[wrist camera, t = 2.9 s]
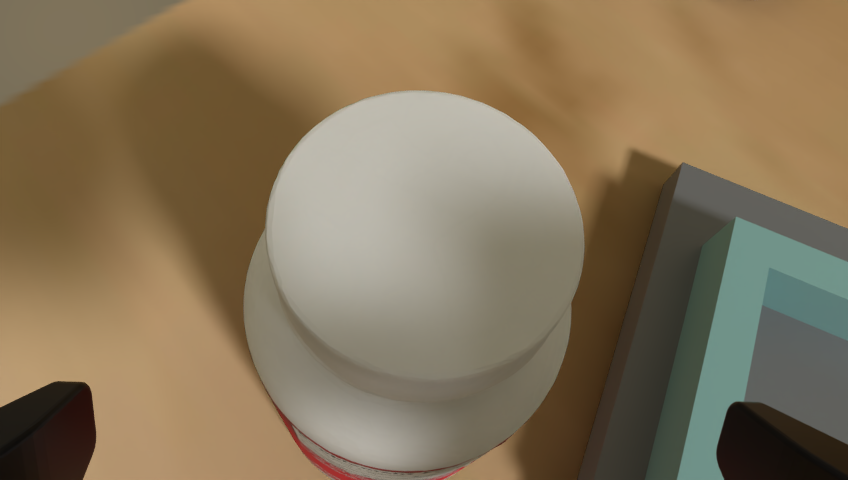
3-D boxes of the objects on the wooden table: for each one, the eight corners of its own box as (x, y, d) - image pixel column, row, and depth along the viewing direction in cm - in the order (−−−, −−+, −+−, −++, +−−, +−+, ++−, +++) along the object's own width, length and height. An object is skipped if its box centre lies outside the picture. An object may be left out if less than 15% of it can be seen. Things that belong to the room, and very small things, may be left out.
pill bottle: (334, 262, 21) (320, 1, 11) (515, 331, 20) (672, 127, 10) (245, 451, 18) (118, 335, 8) (451, 534, 18) (580, 519, 8)
